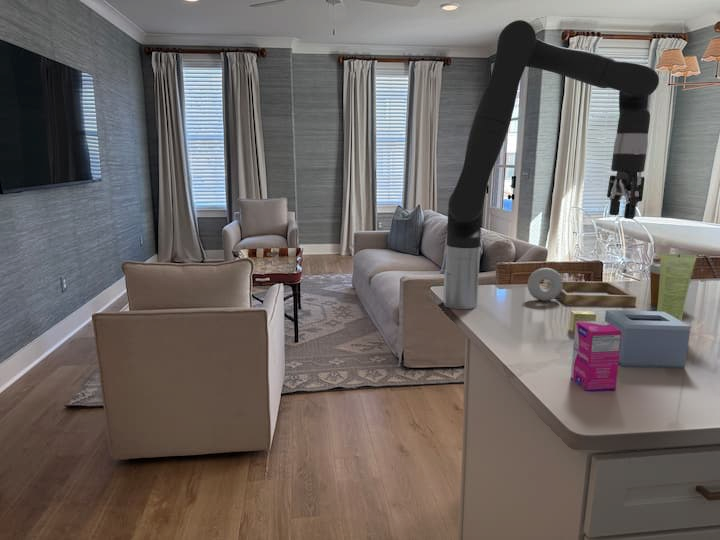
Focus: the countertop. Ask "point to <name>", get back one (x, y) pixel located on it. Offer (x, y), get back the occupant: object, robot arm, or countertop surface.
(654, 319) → the box
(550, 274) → the donut
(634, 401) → the countertop surface
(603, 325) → the supplement box
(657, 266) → the disposable coffee cup
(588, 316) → the rectangular block
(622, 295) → the frame
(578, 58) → the robot arm
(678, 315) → the tube
